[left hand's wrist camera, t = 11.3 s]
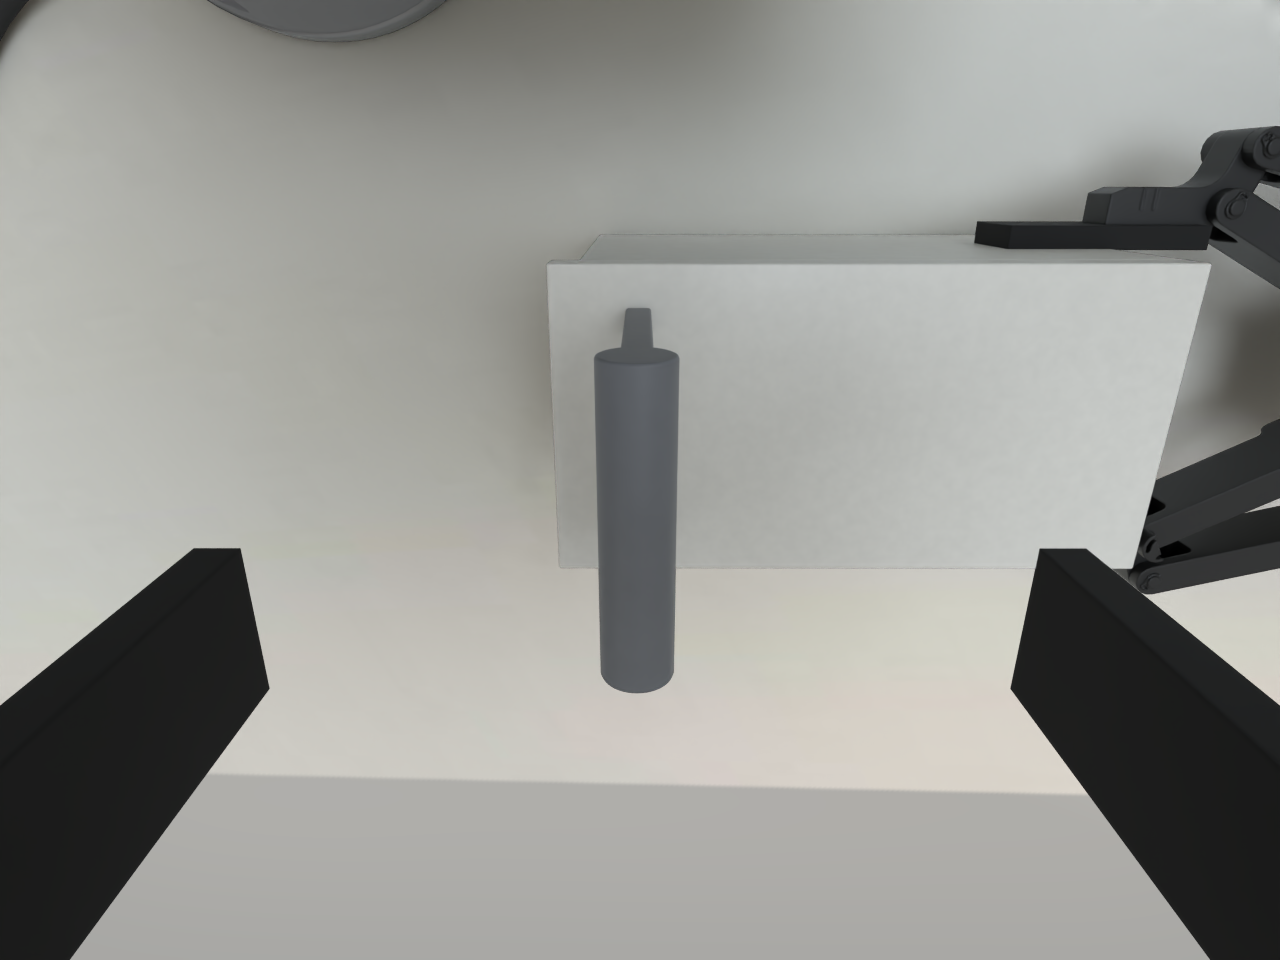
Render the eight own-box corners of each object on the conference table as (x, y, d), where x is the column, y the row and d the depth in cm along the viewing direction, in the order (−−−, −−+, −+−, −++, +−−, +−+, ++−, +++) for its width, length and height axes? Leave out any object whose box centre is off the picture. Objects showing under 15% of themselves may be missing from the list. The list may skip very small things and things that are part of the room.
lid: (562, 554, 25) (523, 733, 17) (549, 259, 22) (493, 306, 13) (1114, 554, 25) (1342, 734, 17) (1188, 259, 22) (1518, 306, 13)
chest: (603, 444, 35) (586, 553, 25) (599, 234, 32) (578, 259, 22) (974, 444, 35) (1113, 553, 25) (1009, 234, 32) (1186, 259, 22)
